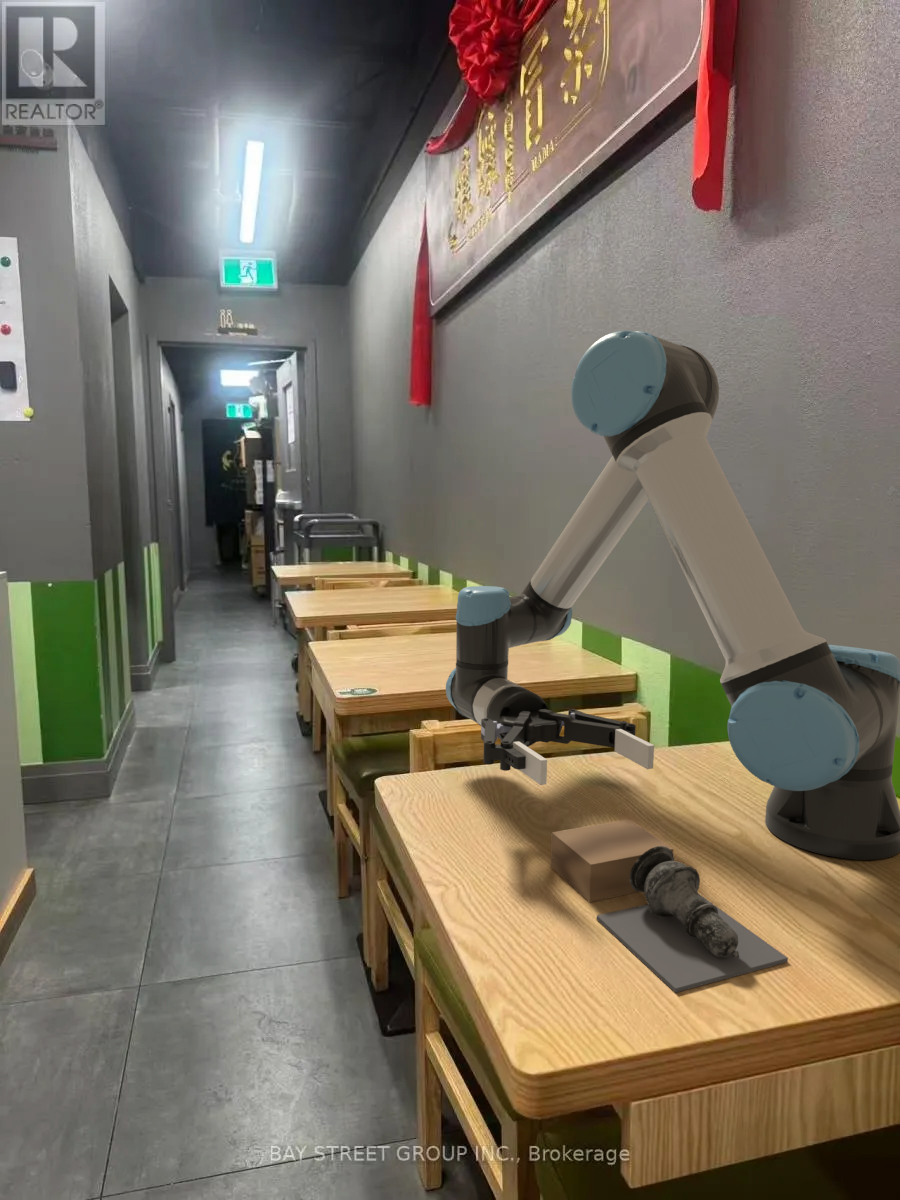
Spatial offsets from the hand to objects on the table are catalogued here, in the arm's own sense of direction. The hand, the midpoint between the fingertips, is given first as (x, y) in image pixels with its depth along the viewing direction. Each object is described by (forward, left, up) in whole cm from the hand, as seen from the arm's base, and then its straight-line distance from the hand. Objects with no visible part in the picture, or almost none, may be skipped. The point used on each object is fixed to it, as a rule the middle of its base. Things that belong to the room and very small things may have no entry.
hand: (599, 764), depth 85 cm
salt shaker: (-6, +7, -7) cm, 12 cm away
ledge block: (-2, +2, -11) cm, 12 cm away
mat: (-10, +12, -11) cm, 19 cm away
